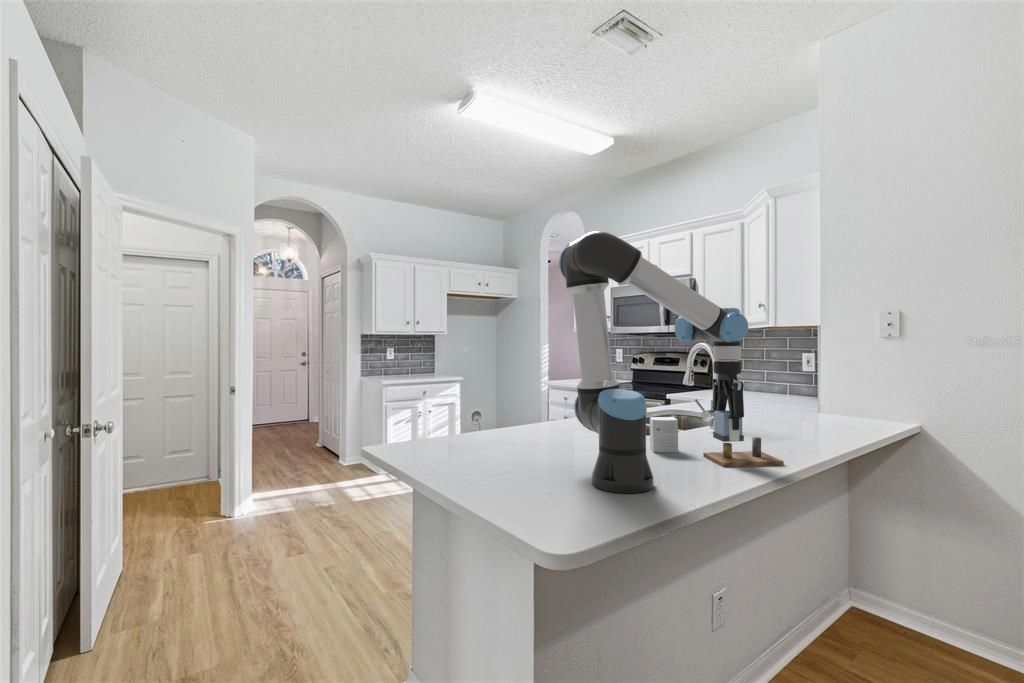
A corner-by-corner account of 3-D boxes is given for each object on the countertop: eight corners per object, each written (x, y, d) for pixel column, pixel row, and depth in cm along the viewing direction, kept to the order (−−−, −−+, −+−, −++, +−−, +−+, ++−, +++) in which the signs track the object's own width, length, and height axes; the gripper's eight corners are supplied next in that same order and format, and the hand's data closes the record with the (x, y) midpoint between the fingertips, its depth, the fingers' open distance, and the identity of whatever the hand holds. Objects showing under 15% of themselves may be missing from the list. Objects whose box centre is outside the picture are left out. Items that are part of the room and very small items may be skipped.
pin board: (722, 466, 140) (722, 443, 140) (703, 456, 152) (703, 434, 152) (783, 465, 141) (783, 441, 141) (759, 454, 153) (759, 433, 153)
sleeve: (743, 441, 143) (743, 413, 143) (723, 441, 143) (723, 414, 143) (732, 436, 149) (732, 410, 149) (713, 437, 149) (712, 410, 149)
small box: (674, 448, 163) (674, 416, 162) (678, 452, 157) (678, 419, 157) (649, 448, 163) (649, 416, 163) (652, 452, 158) (652, 419, 158)
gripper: (757, 361, 136) (758, 445, 137) (723, 358, 156) (724, 431, 156) (731, 362, 136) (732, 446, 136) (700, 359, 155) (701, 432, 155)
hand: (728, 438), depth 146 cm, fingers closed on sleeve, 6 cm apart
